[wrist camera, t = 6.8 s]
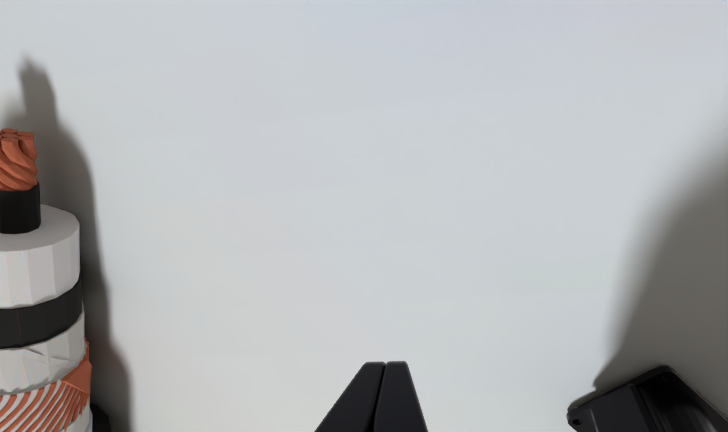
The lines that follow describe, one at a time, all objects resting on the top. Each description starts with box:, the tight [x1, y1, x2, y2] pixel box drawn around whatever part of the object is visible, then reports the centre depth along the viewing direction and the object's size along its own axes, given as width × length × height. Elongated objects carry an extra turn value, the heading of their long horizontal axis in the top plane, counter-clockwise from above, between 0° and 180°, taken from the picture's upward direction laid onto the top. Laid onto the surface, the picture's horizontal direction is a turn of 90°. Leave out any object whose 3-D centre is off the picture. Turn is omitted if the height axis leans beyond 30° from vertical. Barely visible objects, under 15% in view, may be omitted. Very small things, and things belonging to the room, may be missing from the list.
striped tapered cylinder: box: [0, 129, 111, 432], centre depth 29 cm, size 10×34×10 cm, turn 164°
